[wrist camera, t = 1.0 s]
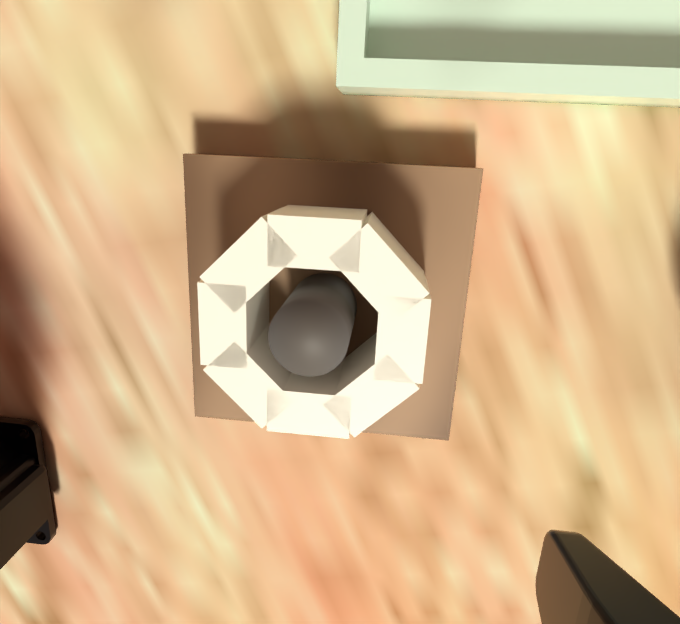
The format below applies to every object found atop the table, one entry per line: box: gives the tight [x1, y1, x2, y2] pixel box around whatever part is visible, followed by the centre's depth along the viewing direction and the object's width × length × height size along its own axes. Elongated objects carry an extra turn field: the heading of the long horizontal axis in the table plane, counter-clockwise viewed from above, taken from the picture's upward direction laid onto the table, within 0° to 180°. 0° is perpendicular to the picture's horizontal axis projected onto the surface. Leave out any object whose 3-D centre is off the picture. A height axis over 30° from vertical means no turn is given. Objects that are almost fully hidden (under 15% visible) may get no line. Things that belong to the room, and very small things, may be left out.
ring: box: [197, 205, 431, 439], centre depth 17 cm, size 7×7×3 cm
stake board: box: [183, 154, 483, 440], centre depth 17 cm, size 10×10×5 cm
